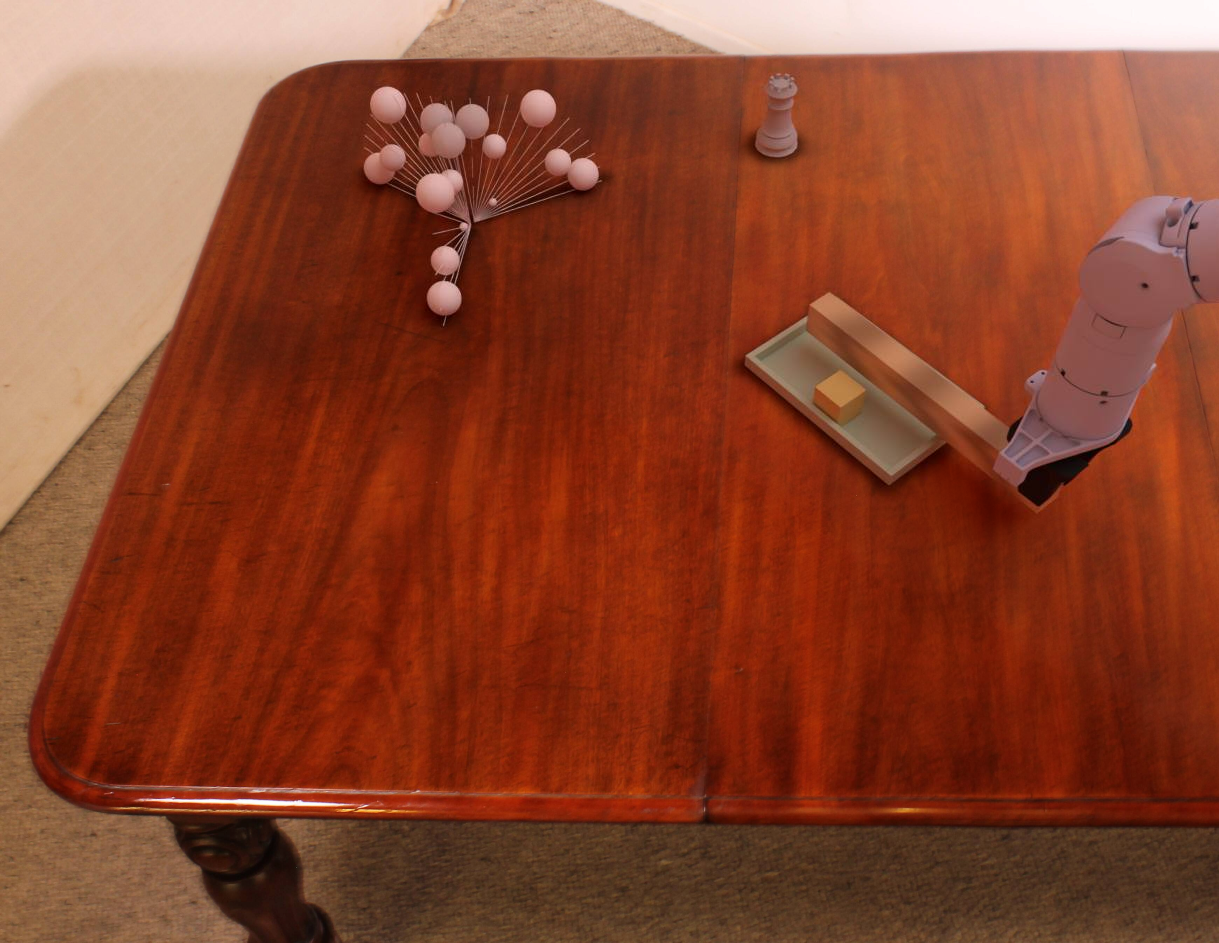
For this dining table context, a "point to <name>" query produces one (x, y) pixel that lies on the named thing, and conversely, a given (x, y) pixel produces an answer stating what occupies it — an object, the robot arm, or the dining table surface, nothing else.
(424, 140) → the decorative flower
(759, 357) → the dish
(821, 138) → the dining table surface
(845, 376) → the cheese cube
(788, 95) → the rook chess piece
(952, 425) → the stick
